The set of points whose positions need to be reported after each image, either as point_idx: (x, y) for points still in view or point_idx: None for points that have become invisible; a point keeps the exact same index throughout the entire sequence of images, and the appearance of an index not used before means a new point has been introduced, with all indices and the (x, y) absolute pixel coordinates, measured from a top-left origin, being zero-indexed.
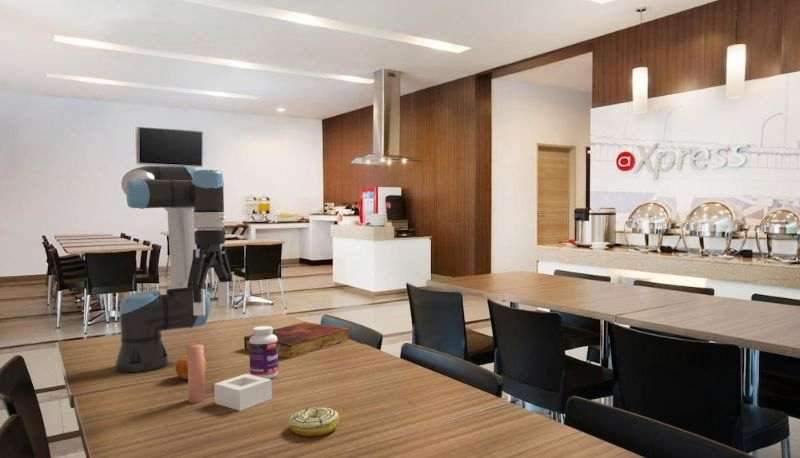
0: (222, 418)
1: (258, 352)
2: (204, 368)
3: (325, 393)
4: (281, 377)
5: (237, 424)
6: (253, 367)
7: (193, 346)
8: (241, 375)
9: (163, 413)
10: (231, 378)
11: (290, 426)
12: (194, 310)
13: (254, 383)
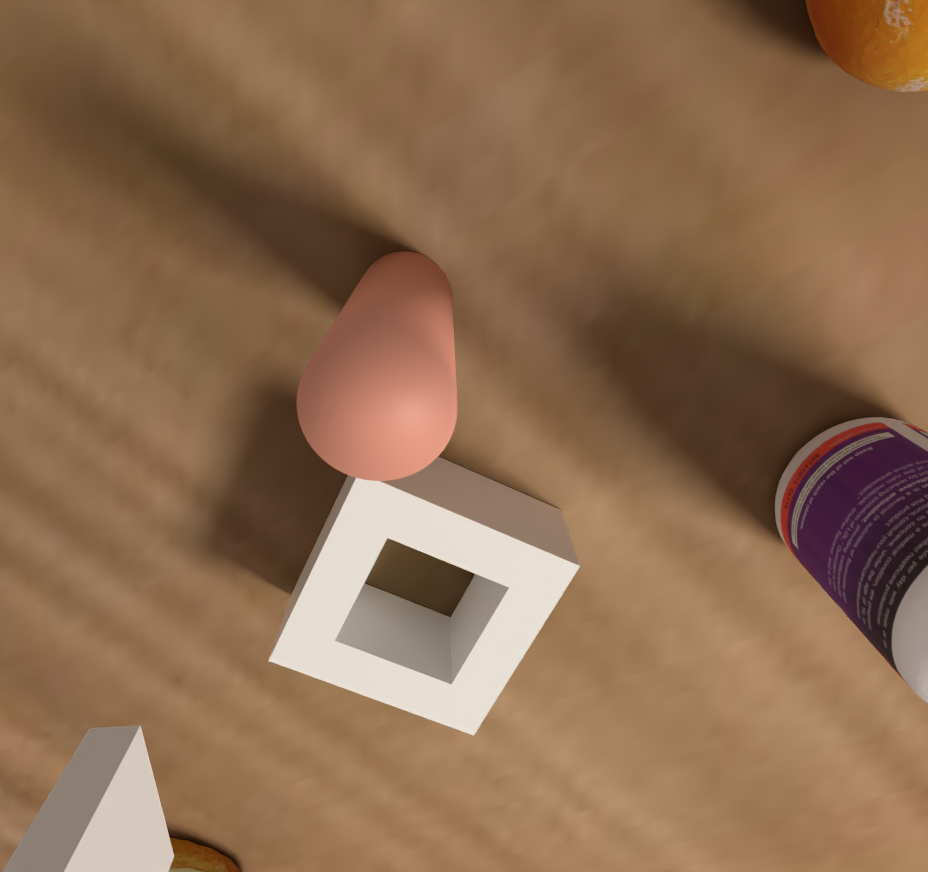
0: (185, 560)
1: (856, 588)
2: (900, 91)
3: (564, 833)
4: None
5: (139, 649)
6: (816, 493)
7: (365, 394)
8: (540, 554)
9: (167, 220)
10: (474, 524)
11: None
12: (50, 814)
13: (397, 682)
